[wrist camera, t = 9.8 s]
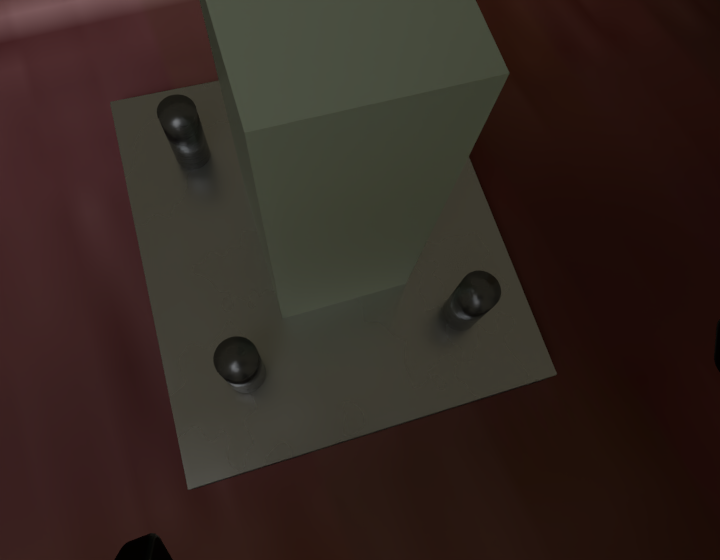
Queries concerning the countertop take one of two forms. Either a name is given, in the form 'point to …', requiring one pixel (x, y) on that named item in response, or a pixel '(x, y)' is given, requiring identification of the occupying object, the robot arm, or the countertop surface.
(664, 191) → the countertop surface
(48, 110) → the countertop surface
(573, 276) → the countertop surface
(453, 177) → the plate
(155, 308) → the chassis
